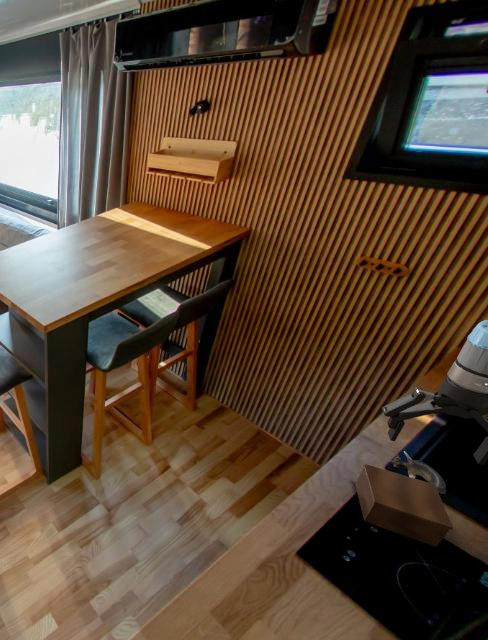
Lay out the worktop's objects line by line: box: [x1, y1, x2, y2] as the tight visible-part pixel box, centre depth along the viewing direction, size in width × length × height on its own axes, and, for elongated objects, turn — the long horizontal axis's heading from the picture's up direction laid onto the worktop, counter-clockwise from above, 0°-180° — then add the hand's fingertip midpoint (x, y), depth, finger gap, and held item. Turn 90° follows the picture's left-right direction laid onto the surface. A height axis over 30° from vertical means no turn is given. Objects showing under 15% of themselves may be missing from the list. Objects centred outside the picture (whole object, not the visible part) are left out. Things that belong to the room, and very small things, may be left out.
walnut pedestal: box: [355, 463, 454, 548], centre depth 86 cm, size 11×11×8 cm
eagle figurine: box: [390, 450, 447, 495], centre depth 92 cm, size 8×7×9 cm
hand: (432, 448), depth 88 cm, fingers open, 13 cm apart
